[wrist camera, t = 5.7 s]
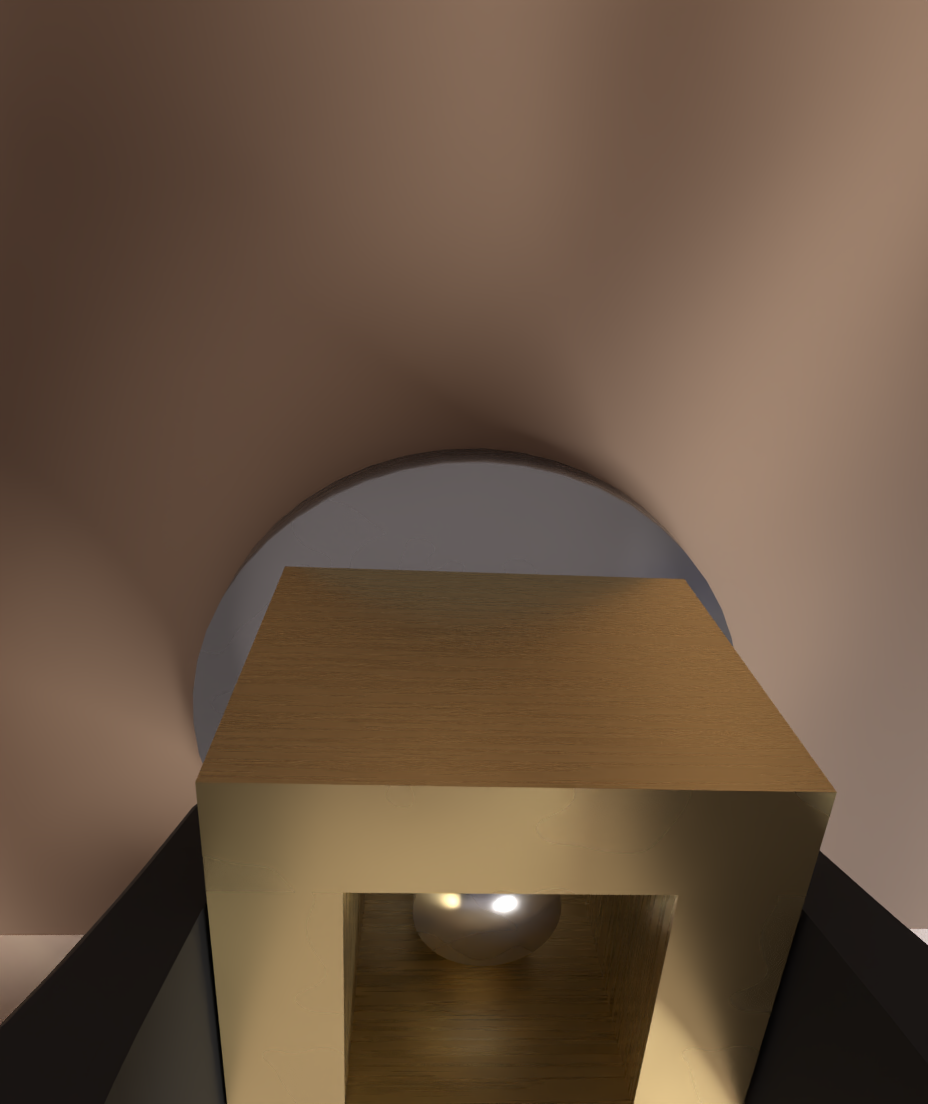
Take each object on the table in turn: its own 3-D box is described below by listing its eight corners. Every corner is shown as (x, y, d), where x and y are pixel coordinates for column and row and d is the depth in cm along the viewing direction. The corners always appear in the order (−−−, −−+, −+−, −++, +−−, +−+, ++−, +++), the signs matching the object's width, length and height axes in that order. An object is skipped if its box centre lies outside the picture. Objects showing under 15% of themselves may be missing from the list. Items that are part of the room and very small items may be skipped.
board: (1515, -330, 9) (1591, -369, 8) (1008, 902, 15) (1030, 927, 15) (-428, -534, 7) (-497, -595, 7) (-44, 907, 14) (-63, 934, 14)
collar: (684, 578, 10) (837, 791, 6) (630, 878, 12) (722, 1176, 8) (284, 566, 10) (195, 782, 6) (297, 875, 12) (235, 1183, 8)
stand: (763, 457, 11) (949, 580, 7) (678, 888, 14) (776, 1141, 10) (184, 438, 10) (43, 561, 7) (225, 891, 14) (146, 1156, 10)
